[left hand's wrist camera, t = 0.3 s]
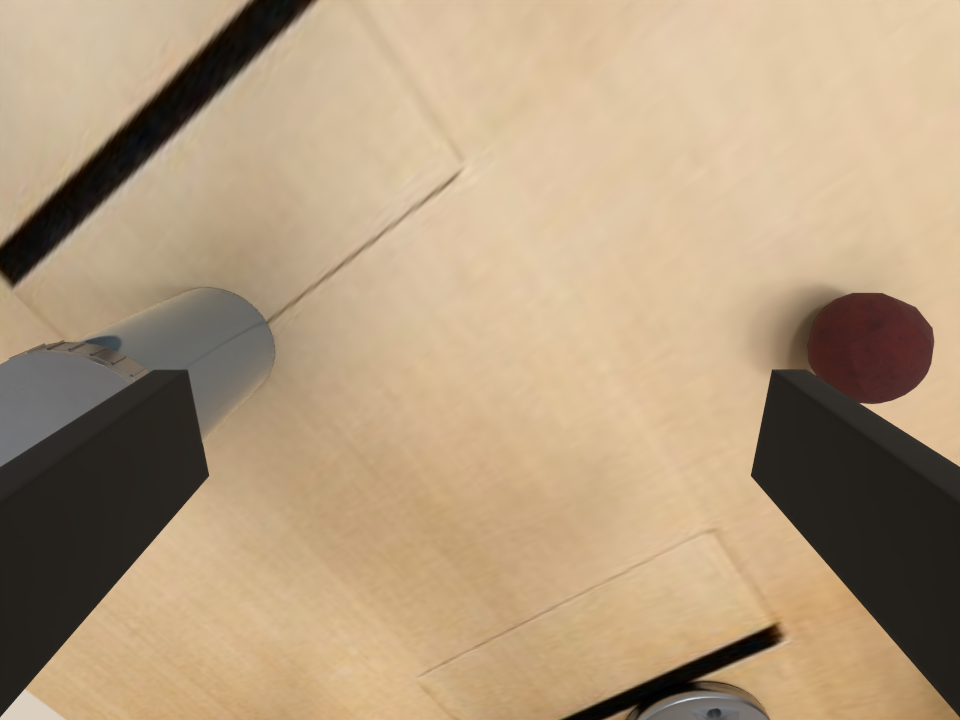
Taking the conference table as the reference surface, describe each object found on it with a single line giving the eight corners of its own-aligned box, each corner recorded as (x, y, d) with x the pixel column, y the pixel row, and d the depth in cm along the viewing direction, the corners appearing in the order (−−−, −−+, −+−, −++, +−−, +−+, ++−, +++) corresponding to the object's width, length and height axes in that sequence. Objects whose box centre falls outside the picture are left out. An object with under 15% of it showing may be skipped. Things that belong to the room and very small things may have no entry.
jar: (134, 312, 40) (-51, 393, 26) (237, 269, 39) (101, 329, 25) (197, 411, 43) (60, 533, 29) (295, 374, 42) (202, 481, 28)
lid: (-43, 379, 27) (-74, 392, 26) (119, 311, 26) (98, 320, 24) (73, 528, 30) (52, 547, 29) (224, 473, 29) (210, 490, 28)
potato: (809, 395, 42) (870, 438, 36) (770, 316, 40) (827, 346, 34) (901, 346, 41) (982, 381, 34) (865, 261, 39) (945, 281, 32)
